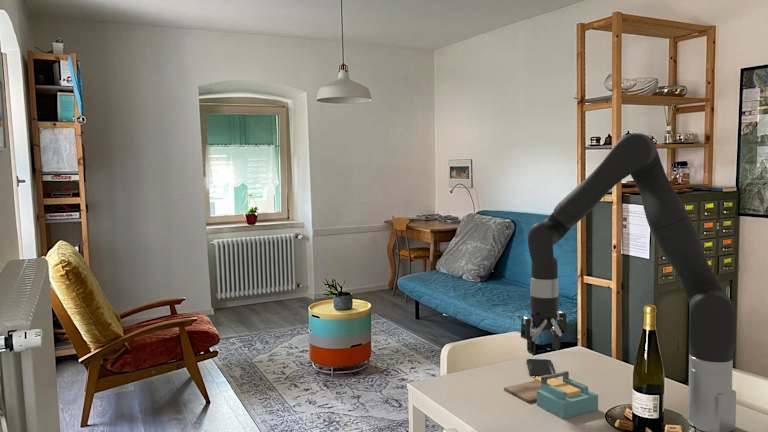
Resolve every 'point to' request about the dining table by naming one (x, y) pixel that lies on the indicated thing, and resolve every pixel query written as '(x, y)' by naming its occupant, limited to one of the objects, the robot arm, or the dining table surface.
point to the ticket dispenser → (565, 398)
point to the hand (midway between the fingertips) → (543, 351)
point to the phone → (540, 367)
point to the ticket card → (560, 386)
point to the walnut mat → (525, 391)
